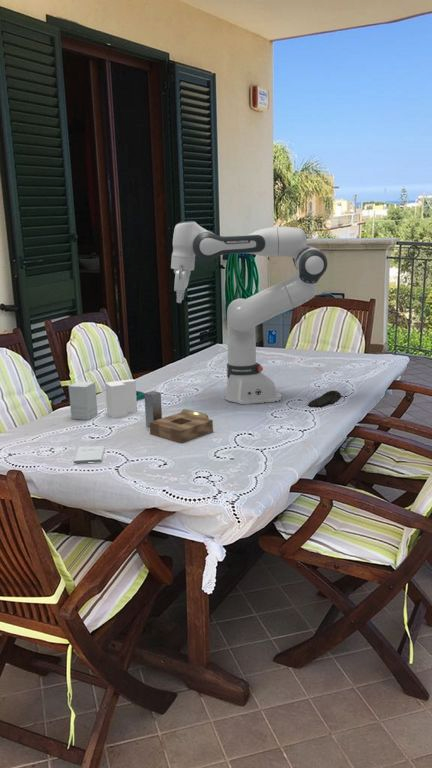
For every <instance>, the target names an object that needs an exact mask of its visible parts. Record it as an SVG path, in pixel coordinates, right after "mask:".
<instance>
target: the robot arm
mask: <svg viewBox="0 0 432 768" xmlns="http://www.w3.org/2000/svg"><path fill="white" fill-rule="evenodd" d="M173 230H174V231H173V235H172V236H173V238H172V253H171V263H170V269H172V270H173V273H174V274H175V276H174V284H173V285H174V287H173V291H174V292H176V303H178V304H182V301H183V300H184V297H185V292H186V289H187V287H188V286H189V282H190V276H191V271H194V270H195V263H196V257H197V258H198V259H200V260H202V261H212V260H214V259H216V258H218V257H219V256H224V255H233V254H235V255H236V254H251V255H256V256H260V257H268V258H279V257H289V258H292V261H293V264H294V267H295V269H296V270H297V272H296V273H295V275H293V276H292V277H291V278H289V279H286V280H284V281H281V282H278V283H277V284H274V285H272V286H269V287H266V288H265V289H262V290H261V291H259V292H257V293H255V294H253V295H251V296H249V297H247V298H236V299H234V300H232V301H231V302H230V303H229V305H228V307H227V309H226V325H227V334H226V335H227V364H226V377H227V385H226V390H225V395H224V399H225V400H226V401H228V402H233V403H237V404H240V405H251V404H263V403H264V402H265V403H275V401H277V402H279V400H280V401H281V400H282V394H281V393H280V392H279V391H278V390H277V389H276V384H275V382H274V381H273V380H272V379H271V378H270V377H268V376H267V375H266V374H264V373H263V372H262V371H264V370H263V369H264V367H263V366H262V365H261V364H260V363H259V362H256V361H257V346H256V345H257V344H256V343H257V342H256V338H257V337H256V327H257V326H258V325H260V324H263V323H265V322H267V321H268V320H270V319H272V318H273V317H276V316H279V315H281V314H283V313H286V312H288V311H291V310H293V309H295V308H298V307H300V306H302V305H303V304H305V303H307V302H309V301H310V300H312V299H313V298H315V296H316V294H317V285H316V283H318V281H319V280H320V278H322V277H323V275H324V274H325V272H326V271H327V270H328V269H327V268H328V259H327V256H326V255H325V254H324V252H322V251H321V250H320V249H319V248H315V247H313V246H311V245H309V244H308V240H307V234H306V232H305V231H304V230H303V229H302V228H299V227H293V226H271V227H264V228H261V229H257V230H256V231H253V232H251V233H249V234H245V235H228V236H227V235H225V236H224V235H223V236H222V235H217V234H215V233H214V232H212V231H210V230H207V229H206V228H204V227H202V226H200V225H199V224H198V223H197V222H196V221H194V220H187V221H179V222H178V223H176V224H175V227H174V228H173Z"/></svg>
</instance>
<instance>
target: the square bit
mask: <svg viewBox="0 0 432 768" xmlns="http://www.w3.org/2000/svg"><path fill="white" fill-rule="evenodd" d="M143 393H144V395H145V399H144V408H145V409H144V410H145V426H146V427H147V428H150V422H152V421H155V420H158V419H162V418H163V416H162V415H163V409H162V392H160V391H157V390H152V391H151V390H150V391H147V392H143Z"/></svg>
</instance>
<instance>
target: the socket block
mask: <svg viewBox="0 0 432 768" xmlns="http://www.w3.org/2000/svg"><path fill="white" fill-rule="evenodd" d="M213 431H214V423H213V419H210V418H208V419H206V418H202V417H198V416H194V415H191V414H187V413H183V412H182V411H181V412H178V413H175V414H172V415H169V416H165V417H162V419H158V420H155V421H152V422H150V427H149V434H150V435H153V436H157V437H160V438H163V439H167V440H171V441H172V442H173V441H174V442H177V443H180V444H182V443H184V442H187V441H190V440H193V439H197V438H199V437H201V436H204V435H207V434H210V433H213Z"/></svg>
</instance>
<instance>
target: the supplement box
mask: <svg viewBox="0 0 432 768" xmlns="http://www.w3.org/2000/svg"><path fill="white" fill-rule="evenodd" d="M68 395H69V405H70V406H69V407H70V417H71V419H72V420H83V421H84V420H85V421H89V420H91V419H93V418H95V417H96V416H98V415H99V413H98V401H97V389H96V382H95V381H76V382H73V383H72V384H70V385H68Z"/></svg>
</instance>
